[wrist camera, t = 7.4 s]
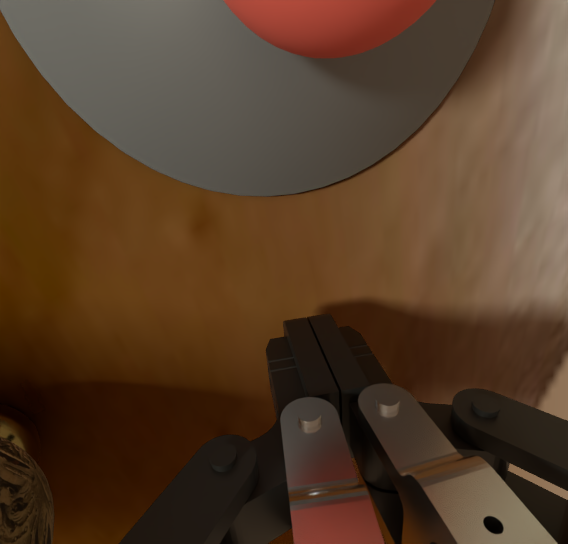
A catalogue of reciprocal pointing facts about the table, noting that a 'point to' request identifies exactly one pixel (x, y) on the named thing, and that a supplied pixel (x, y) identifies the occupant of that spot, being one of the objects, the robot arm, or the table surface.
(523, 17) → the table surface
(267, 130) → the gray disc
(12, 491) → the cup
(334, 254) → the table surface
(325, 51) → the ball
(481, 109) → the table surface
